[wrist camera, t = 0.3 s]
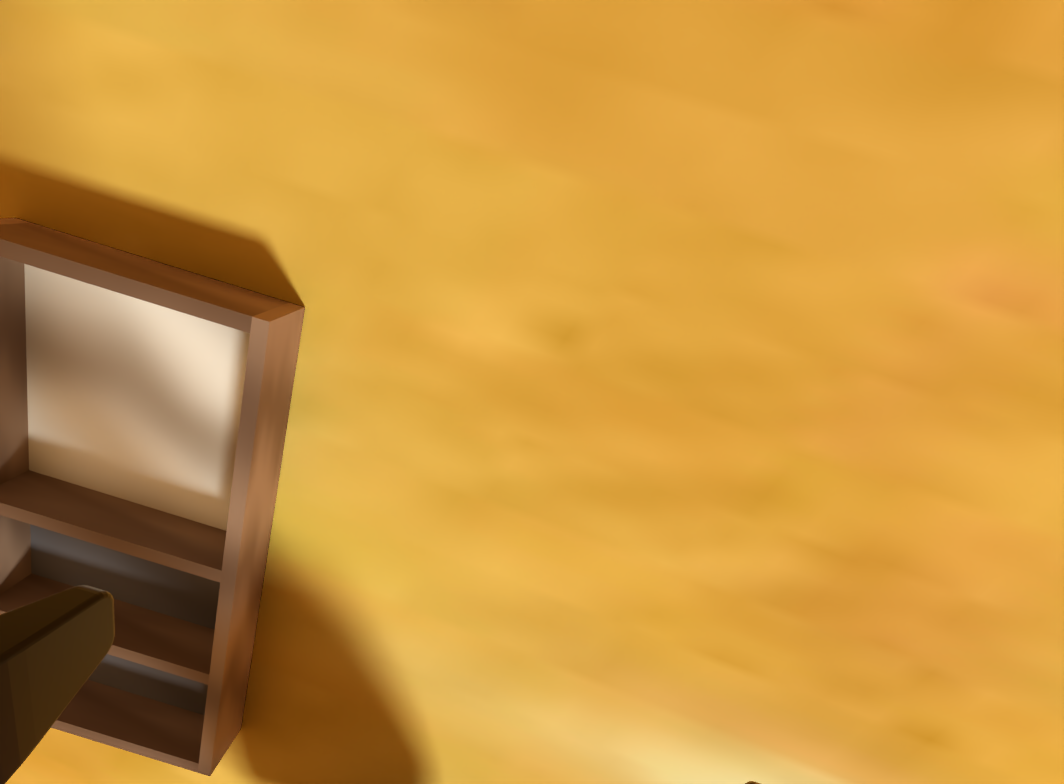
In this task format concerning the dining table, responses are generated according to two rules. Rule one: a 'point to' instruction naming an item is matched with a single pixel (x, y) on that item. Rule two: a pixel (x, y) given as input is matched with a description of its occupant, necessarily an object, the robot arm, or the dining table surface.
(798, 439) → the dining table surface
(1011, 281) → the dining table surface
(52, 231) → the box
